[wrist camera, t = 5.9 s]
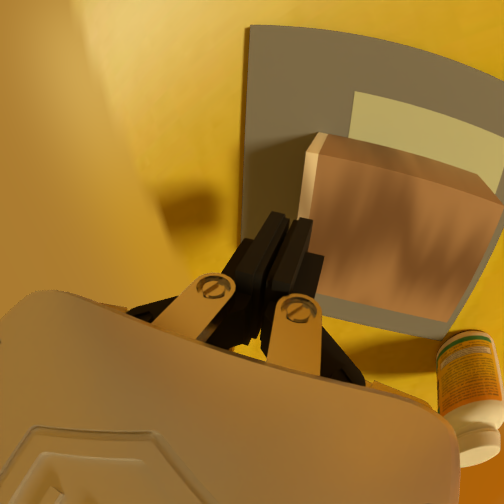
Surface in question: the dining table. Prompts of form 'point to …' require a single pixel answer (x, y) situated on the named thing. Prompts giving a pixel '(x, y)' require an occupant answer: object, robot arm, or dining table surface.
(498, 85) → the slate mat
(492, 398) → the supplement bottle
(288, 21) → the dining table surface
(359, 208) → the walnut block
